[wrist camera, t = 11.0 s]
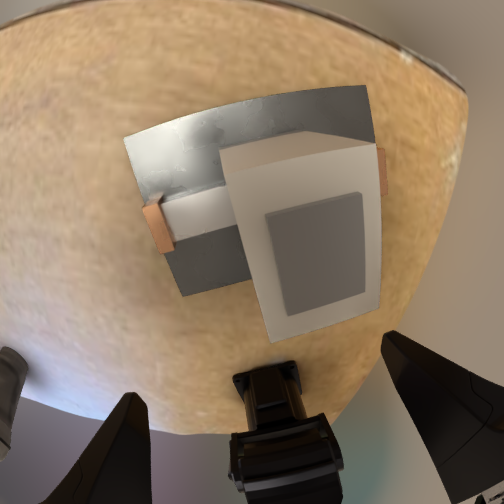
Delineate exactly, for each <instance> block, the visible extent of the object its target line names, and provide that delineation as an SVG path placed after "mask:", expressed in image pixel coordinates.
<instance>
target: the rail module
mask: <svg viewBox="0 0 504 504" xmlns="http://www.w3.org/2000/svg"><path fill="white" fill-rule="evenodd" d="M219 153H220V158H221V163H222V168H223V173H224V177H225V181H226V185H227V188H228V192H229V196H230V199H231V203H232V207H233V210H234V214H235V218H236V221H237V225H238V229H239V232H240V236H241V240H242V243H243V247H244V251H245V254H246V258H247V262H248V265H249V269H250V272H251V276H252V280H253V283H254V287H255V290H256V294H257V298H258V301H259V305H260V308H261V312H262V315H263V319H264V323H265V326H266V330H267V333H268V337H269V340H270V343H274V342H278V341H281V340H285V339H288V338H292V337H295V336H299V335H302V334H305V333H309V332H312V331H315V330H318V329H321V328H324V327H328V326H331V325H334V324H337V323H340V322H342V321H345V320H348V319H351V318H354V317H357V316H360V315H362V314H365V313H368V312H370V311H373V310H376V309H378V308H379V302H380V286H381V260H382V223H381V197H380V181H379V169H378V158H377V149H376V144H375V143H370V142H366V141H361V140H356V139H351V138H346V137H340V136H335V135H329V134H322V133H316V132H309V131H302V130H295V131H289V132H284V133H279V134H274V135H270V136H265V137H260V138H256V139H252V140H247V141H243V142H239V143H235V144H231V145H227V146H223V147H220V148H219Z"/></svg>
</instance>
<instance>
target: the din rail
mask: <svg viewBox="0 0 504 504" xmlns="http://www.w3.org/2000/svg"><path fill="white" fill-rule="evenodd" d="M295 130H302V131H309V132H316V133H322V134H329V135H335V136H340V137H346V138H351V139H356V140H361V141H366V142H370V143H375V136H374V129H373V122H372V116H371V110H370V104H369V99H368V93H367V88H366V85H361V86H343V87H331V88H321V89H312V90H304V91H296V92H289V93H283V94H277V95H271V96H266V97H260V98H255V99H250V100H246V101H241V102H237V103H232V104H228V105H224V106H220V107H216V108H212V109H209V110H205V111H201V112H198V113H194V114H191V115H188V116H184V117H181V118H178V119H175V120H172V121H169V122H166V123H163V124H160V125H157V126H154V127H152V128H149V129H146V130H143V131H141V132H138V133H136V134H133V135H130V136H128V137H125V138H123V139H124V143H125V146H126V149H127V152H128V156H129V159H130V162H131V165H132V168H133V171H134V174H135V177H136V180H137V183H138V186H139V189H140V192H141V194H142V197H143V200H144V203H145V205H144V206H143V207H142V209H143V212H144V215H145V217H146V220H147V223H148V225H149V228H150V230H151V233H152V235H153V238H154V240H155V243H156V245H157V248H158V250H159V253H160V254H163V253H164V255H165V257H166V259H167V262H168V264H169V266H170V269H171V271H172V273H173V276H174V278H175V280H176V283H177V285H178V287H179V289H180V292H181V294H182V296H183V297H184V296H188V295H192V294H196V293H200V292H203V291H207V290H211V289H215V288H219V287H223V286H227V285H230V284H234V283H238V282H242V281H245V280H249V279H252V276H251V272H250V269H249V265H248V262H247V258H246V254H245V251H244V247H243V243H242V240H241V236H240V232H239V229H238V225H237V221H236V218H235V214H234V210H233V207H232V203H231V199H230V196H229V192H228V188H227V185H226V181H225V177H224V173H223V168H222V163H221V158H220V153H219V148H220V147H223V146H227V145H231V144H235V143H239V142H243V141H247V140H252V139H256V138H260V137H265V136H270V135H274V134H279V133H284V132H289V131H295ZM376 149H377V158H378V169H379V181H380V196H384V195H388V188H387V173H386V161H385V151H384V149H382V148H378V147H376Z"/></svg>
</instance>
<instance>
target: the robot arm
mask: <svg viewBox="0 0 504 504" xmlns="http://www.w3.org/2000/svg"><path fill="white" fill-rule="evenodd" d="M381 354H382V356H383V359H384V361H385V364H386V366H387V368H388V371H389V373H390V376H391V378H392V381H393V383H394V385H395V388H396V390H397V392H398V394H399V395H400V397H401V399H402V401H403V403H404V405H405V407H406V408H407V410H408V412H409V414H410V416H411V418H412V420H413V422H414V424H415V426H416V428H417V430H418V432H419V434H420V436H421V438H422V440H423V442H424V444H425V446H426V448H427V450H428V452H429V454H430V456H431V458H432V461H433V463H434V465H435V467H436V468H437V472H438V474H439V476H440V478H441V481H442V483H443V485H444V487H445V490H446V492H447V494H448V497H449V499H450V501H451V504H458V503H460V502H462V501H465V500H466V499H469V498H471V497H473V496H475V495H477V494H479V493H481V494H480V495H479V496H478V497H477V499H476V501H475V504H504V387H502V386H500V385H497V384H495V383H493V382H490V381H488V380H486V379H484V378H482V377H480V376H478V375H476V374H474V373H472V372H471V371H468V370H467V369H465V368H463V367H461V366H459V365H458V364H456V363H454V362H452V361H450V360H448V359H446V358H444V357H443V356H441V355H439V354H437V353H435V352H434V351H432V350H430V349H428V348H426V347H424V346H423V345H421V344H419V343H417V342H415V341H413V340H411V339H409V338H408V337H406V336H404V335H402V334H400V333H399V332H397V331H394V330H392V331H389V332H387V333H384V335H383V337H382V343H381ZM233 383H234V385H235V387H236V389H237V391H238V393H239V394H240V396H241V398H242V400H243V402H244V404H245V409H246V416H247V422H248V429H249V431H248V432H242V433H237V432H236V433H232V434H231V437H232V440H230V442H229V444H230V464H229V471H228V477H229V479H230V480H232V481H233V482H234V483H235V485H236V487H237V489H238V491H239V492H240V493H245V495H246V499H247V502H248V504H341V502H342V499H343V494H342V486H341V482H340V477H339V473H338V472H339V471H342V470H343V469H344V464H343V458H342V454H341V450H340V447H339V445H338V442H337V440H336V438H335V436H334V433H333V431H332V429H331V427H330V425H329V423H328V421H327V418H326V416H325V414H324V413H320V414H318V415H317V416H313V417H310V418H307V415H306V411H305V408H304V405H303V402H302V399H301V396H300V395H302V390H301V384H300V379H299V374H298V369H297V365H296V362H294V361H290V362H287V363H283V364H280V365H276V366H272V367H269V368H265V369H261V370H257V371H253V372H248V373H244V374H240V375H236V376H234V377H233ZM39 504H152V491H151V443H150V432H149V420H148V408H147V405H146V403H145V402H144V401H143V400H142V399H141V397H140V396H139V395H138V394H137V393H136V392H127V393H125V394H124V395H123V396H122V398H121V399H120V401H119V402H118V403H117V405H116V406H115V408H114V409H113V410H112V412H111V413H110V414H109V416H108V417H107V419H106V420H105V422H104V423H103V424H102V426H101V427H100V429H99V430H98V431H97V433H96V434H95V436H94V437H93V438H92V440H91V441H90V443H89V444H88V446H87V447H86V448H85V450H84V451H83V453H82V454H81V456H80V457H79V459H78V460H77V462H76V463H75V464H74V466H73V467H72V468H71V470H70V471H69V473H68V474H67V475H66V476H65V478H64V479H63V480H62V481H61V483H60V484H59V485H58V486H57V487H56V489H54V491H53V492H52V493H51V494H50V495H49V496H48V497H47V498H46V500H44V501H43V502H41V503H39Z"/></svg>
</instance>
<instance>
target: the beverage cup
mask: <svg viewBox="0 0 504 504" xmlns="http://www.w3.org/2000/svg"><path fill="white" fill-rule="evenodd" d="M27 372H28V365H27V363H26V362H25V360H24V359H23V358H22V357H21V356H20V355H19V354H18V353H17V352H15V351H14V350H12V349H11V348H8V347H3V348H2V349H1V351H0V462H1V461H3V459H4V458H5V457H6V456H7V453H8V451H9V450H10V448H11V447H10V442H11V429H12V424H13V420H14V416H15V412H16V409H17V405H18V401H19V398H20V395H21V392H22V388H23V385H24V382H25V379H26V374H27Z"/></svg>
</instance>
